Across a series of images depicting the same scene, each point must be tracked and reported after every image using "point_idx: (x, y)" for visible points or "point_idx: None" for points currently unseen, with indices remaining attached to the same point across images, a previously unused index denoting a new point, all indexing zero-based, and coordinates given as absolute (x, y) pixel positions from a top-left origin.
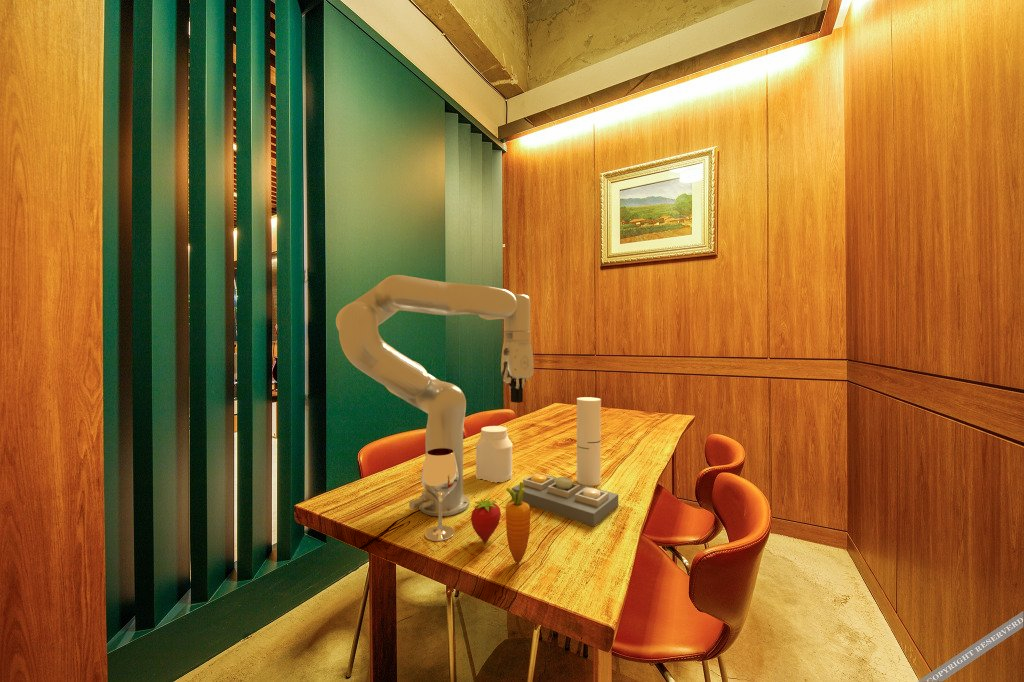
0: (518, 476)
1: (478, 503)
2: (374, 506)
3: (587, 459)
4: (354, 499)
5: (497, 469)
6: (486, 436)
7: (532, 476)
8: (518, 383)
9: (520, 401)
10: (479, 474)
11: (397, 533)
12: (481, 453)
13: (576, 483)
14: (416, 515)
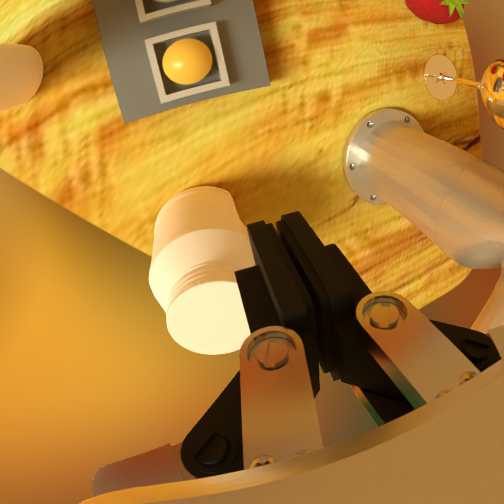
0: (147, 199)
1: (460, 11)
2: None
3: (3, 51)
4: (439, 264)
5: (229, 204)
6: None
7: (199, 76)
8: (395, 348)
9: (284, 216)
10: None
11: (467, 126)
12: None
13: (96, 11)
14: None
